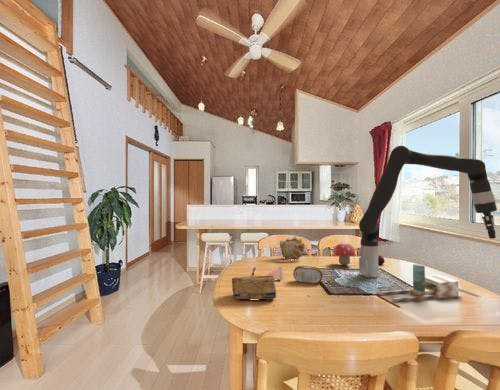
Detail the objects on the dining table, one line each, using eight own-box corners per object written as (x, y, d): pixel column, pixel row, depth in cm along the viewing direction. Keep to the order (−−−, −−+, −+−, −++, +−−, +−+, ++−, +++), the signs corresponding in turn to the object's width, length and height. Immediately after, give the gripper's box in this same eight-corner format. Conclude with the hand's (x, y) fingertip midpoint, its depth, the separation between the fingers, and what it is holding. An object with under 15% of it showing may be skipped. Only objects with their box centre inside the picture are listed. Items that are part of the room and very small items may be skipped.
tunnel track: (398, 307, 107) (397, 287, 107) (376, 296, 120) (376, 278, 120) (481, 299, 115) (480, 281, 115) (452, 289, 128) (452, 273, 128)
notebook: (283, 282, 141) (283, 278, 141) (251, 281, 143) (251, 277, 143) (282, 268, 168) (282, 265, 168) (255, 268, 170) (255, 265, 170)
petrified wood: (232, 302, 112) (231, 278, 114) (233, 298, 124) (232, 276, 126) (277, 300, 112) (276, 275, 115) (274, 296, 125) (272, 274, 127)
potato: (372, 262, 183) (372, 253, 183) (385, 264, 178) (385, 255, 178) (369, 264, 178) (369, 255, 178) (383, 266, 172) (383, 257, 173)
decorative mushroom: (331, 266, 172) (330, 243, 173) (337, 262, 184) (337, 240, 184) (352, 269, 165) (352, 245, 165) (357, 264, 176) (357, 242, 176)
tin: (322, 283, 138) (322, 267, 138) (322, 285, 135) (322, 268, 135) (293, 280, 143) (293, 264, 143) (292, 282, 140) (292, 266, 140)
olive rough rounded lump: (306, 235, 185) (300, 235, 200) (281, 236, 184) (277, 237, 199) (308, 261, 182) (302, 259, 197) (283, 263, 181) (279, 261, 196)
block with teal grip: (419, 297, 114) (419, 267, 114) (410, 293, 118) (409, 264, 119) (450, 295, 117) (450, 265, 117) (440, 291, 122) (439, 262, 122)
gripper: (474, 201, 130) (482, 234, 129) (472, 204, 120) (481, 240, 119) (494, 198, 125) (503, 232, 124) (494, 201, 115) (504, 239, 114)
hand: (492, 236), depth 121 cm, fingers open, 8 cm apart
